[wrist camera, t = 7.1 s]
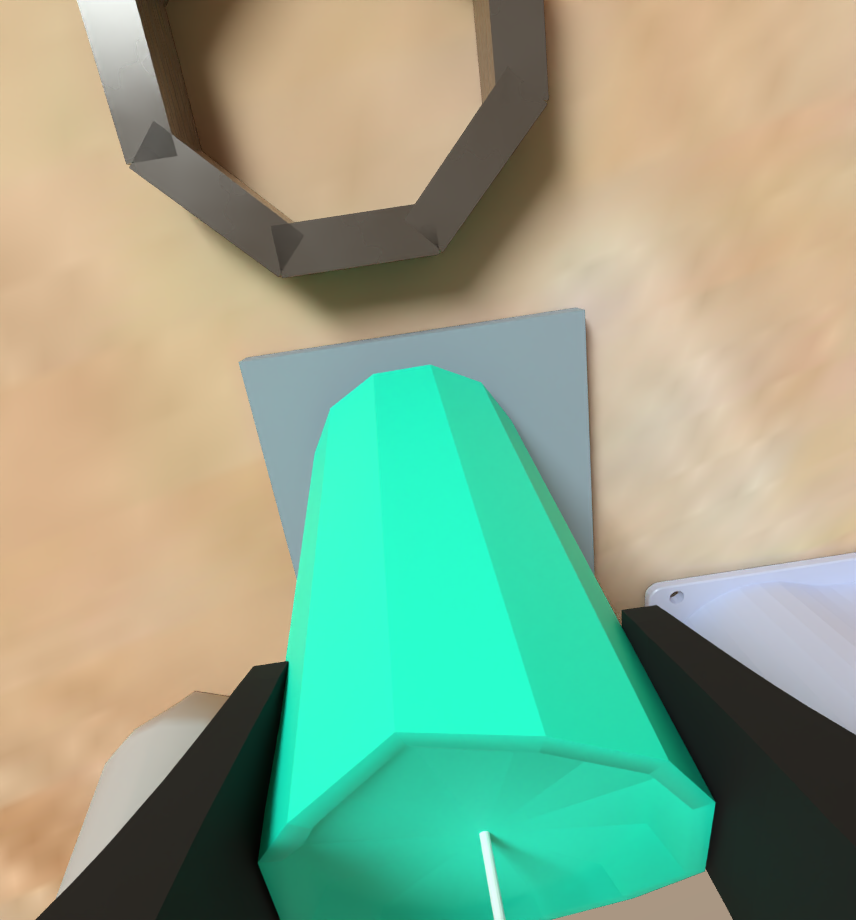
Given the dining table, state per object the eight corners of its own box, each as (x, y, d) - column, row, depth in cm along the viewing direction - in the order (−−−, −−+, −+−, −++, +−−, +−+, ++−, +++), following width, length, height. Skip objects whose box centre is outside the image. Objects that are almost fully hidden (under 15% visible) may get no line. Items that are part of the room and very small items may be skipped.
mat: (575, 307, 16) (584, 309, 15) (587, 588, 19) (595, 601, 19) (246, 357, 16) (238, 362, 15) (317, 629, 19) (314, 644, 19)
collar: (505, -240, 12) (525, -336, 10) (536, 239, 15) (555, 236, 13) (63, -172, 12) (-1, -255, 10) (194, 291, 15) (166, 295, 13)
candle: (536, 373, 15) (926, 897, 5) (495, 540, 18) (676, 1078, 8) (316, 355, 14) (199, 967, 4) (312, 535, 17) (242, 1144, 7)
